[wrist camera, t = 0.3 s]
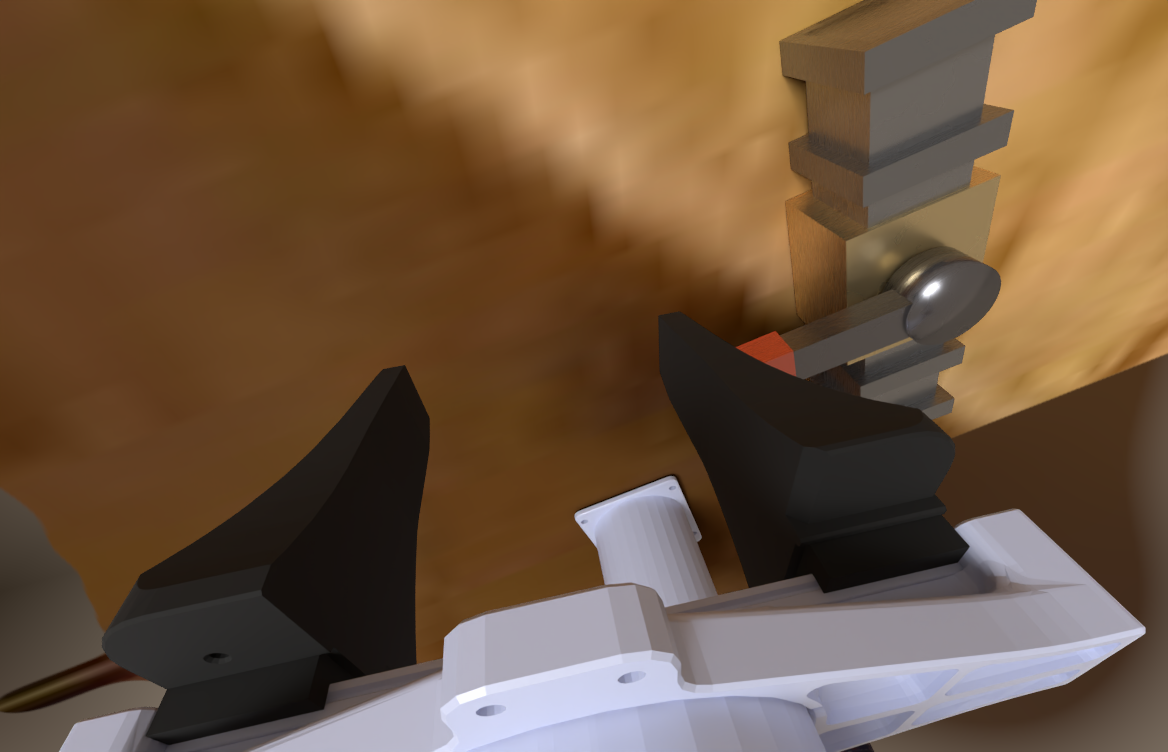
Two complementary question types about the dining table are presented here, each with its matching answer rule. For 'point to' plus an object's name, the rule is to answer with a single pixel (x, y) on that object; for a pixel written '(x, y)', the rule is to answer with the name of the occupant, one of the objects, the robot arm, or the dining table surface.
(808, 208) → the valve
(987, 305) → the lever
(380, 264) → the dining table surface
